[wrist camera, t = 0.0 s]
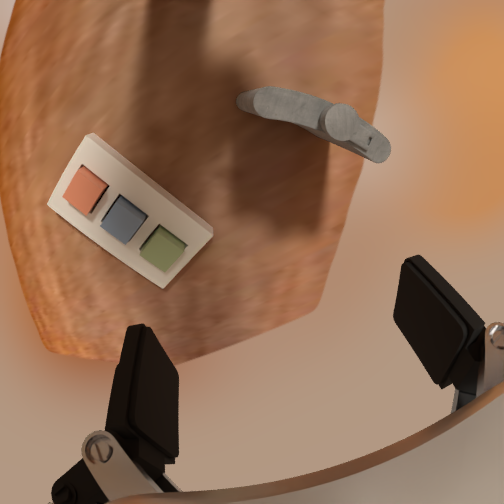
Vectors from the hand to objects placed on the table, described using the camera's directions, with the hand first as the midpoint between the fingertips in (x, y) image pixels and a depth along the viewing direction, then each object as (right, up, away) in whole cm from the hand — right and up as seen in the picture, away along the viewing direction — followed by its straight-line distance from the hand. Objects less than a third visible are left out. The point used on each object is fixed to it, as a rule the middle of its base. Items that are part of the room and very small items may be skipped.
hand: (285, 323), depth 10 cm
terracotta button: (-27, +13, +29) cm, 42 cm away
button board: (-22, +9, +35) cm, 42 cm away
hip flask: (+4, +24, +30) cm, 39 cm away
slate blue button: (-21, +8, +33) cm, 40 cm away
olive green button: (-16, +4, +37) cm, 40 cm away
